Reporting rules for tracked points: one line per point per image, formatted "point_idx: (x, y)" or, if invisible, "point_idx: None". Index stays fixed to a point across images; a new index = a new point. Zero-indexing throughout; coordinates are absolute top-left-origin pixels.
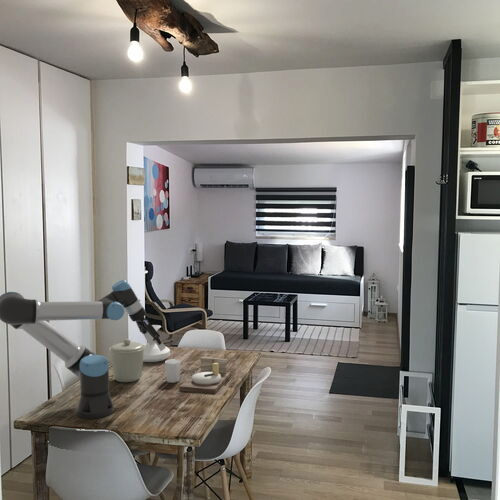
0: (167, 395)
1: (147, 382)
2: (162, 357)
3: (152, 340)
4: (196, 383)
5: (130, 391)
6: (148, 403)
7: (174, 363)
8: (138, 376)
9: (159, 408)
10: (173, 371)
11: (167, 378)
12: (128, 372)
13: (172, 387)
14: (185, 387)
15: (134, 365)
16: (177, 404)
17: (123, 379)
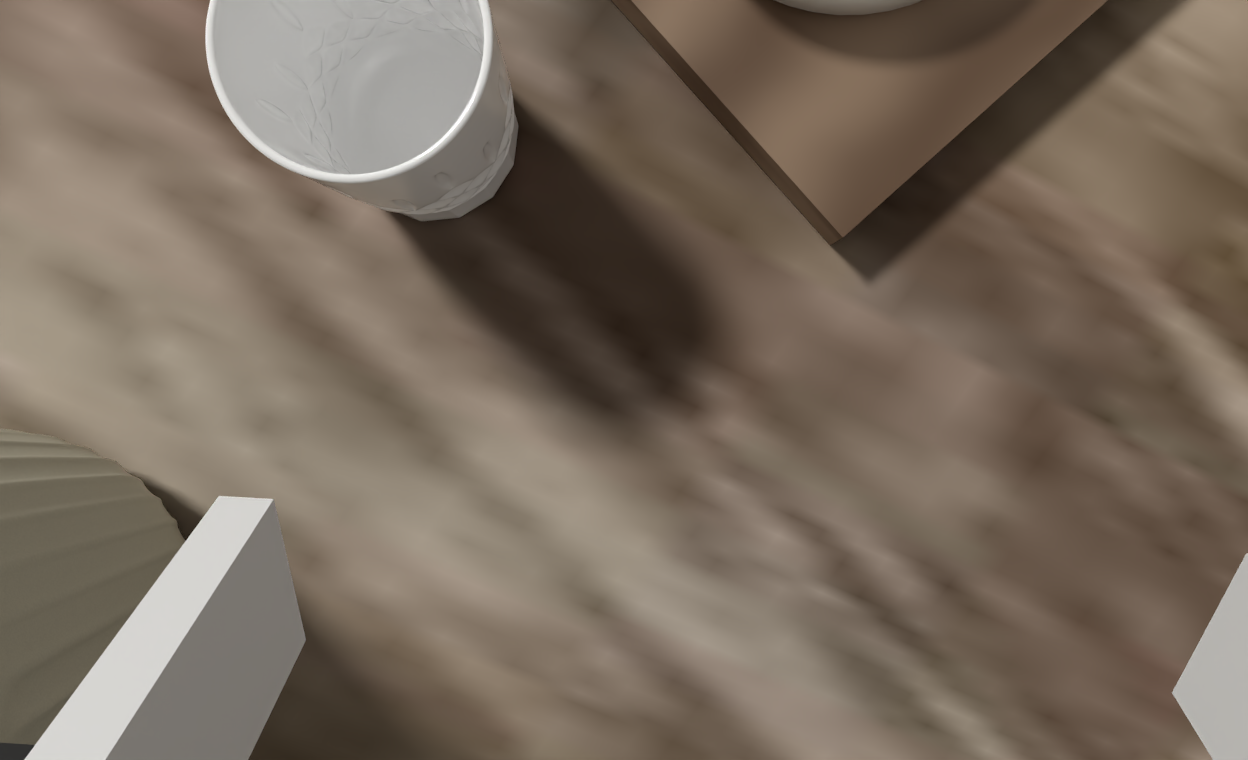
0: (901, 439)
1: (314, 440)
2: None
3: (227, 619)
4: (902, 6)
5: (512, 743)
6: (1014, 728)
7: (487, 73)
8: (171, 527)
9: None
10: (498, 131)
11: (433, 213)
12: None
13: (674, 263)
14: (905, 181)
15: None
16: (1237, 473)
17: None
